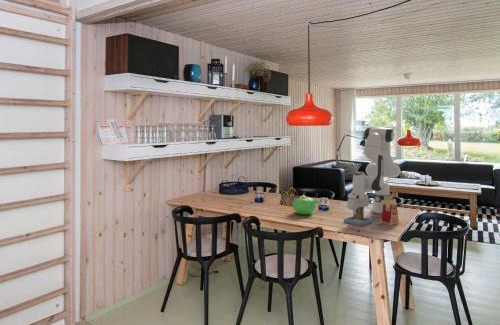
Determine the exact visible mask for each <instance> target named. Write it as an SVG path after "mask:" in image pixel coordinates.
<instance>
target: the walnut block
mask: <svg viewBox="0 0 500 325" xmlns="http://www.w3.org/2000/svg"><path fill="white" fill-rule="evenodd" d="M364 209H365V207H358V209H356V212H357V215H354V211H353V210H352V211H353V212H352V213H353V214H352V217H353V219H356V220H362V219H363V217H364V214H365V213H364Z"/></svg>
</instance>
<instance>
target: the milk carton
mask: <svg viewBox="0 0 500 325" xmlns="http://www.w3.org/2000/svg"><path fill="white" fill-rule="evenodd" d="M384 197H385V198H384V203H383V210H382V213H381V223H382V224H386V225H389V226H392V225H396V224H397V225H398V224H400V221H399V210H398V211H397V209H398V205H397V200H396V198H395V197H394V195H393V194H392V196H384Z"/></svg>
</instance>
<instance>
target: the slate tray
mask: <svg viewBox="0 0 500 325" xmlns="http://www.w3.org/2000/svg"><path fill="white" fill-rule="evenodd" d="M343 223H347V224H350V225H355V226H358V225H359V226H358V227H363V226H366V225H369V224H373V218H367V217H364V216H363V219H362V220H356V219H353V216H350V217H345V218H343Z"/></svg>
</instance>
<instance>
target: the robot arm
mask: <svg viewBox="0 0 500 325" xmlns="http://www.w3.org/2000/svg"><path fill="white" fill-rule="evenodd" d="M363 137H364V139H365V143H364V148H363V154H364V156H365V157H366V158H367V159H368V160H369V161H372V163H368V164H367V166H366V168H365V172H364V171H356V172H354V173H353V176H352V191H351V192H350V193H349V194H348V195H347V209H348V210H351V211H354V215H357V212H356V209H358V207H364V208H366V207H369V205H370V203H369V202H370V201H369V195H368V194H367V193H366V190H370V191H374V194H373V198H374V199H373V200H372V205H371V208H370V210H371V211H372V212H373V213H377V214H382V210H383V203H384V198H385V197H384V196H393V194H390V189H391V188H390V184H389V182H387V181H385V180H384V178H388V179H389V178H398V177H399V175H400V174H401V169H400V168H401V167H400V166H399V165H398V164H396V163H395V162H394V161H393V159H392V156H391V155H392V154H391V142H393V141H394V138H395V131H394V129H393V128H391V127H370V126H369V127H367V128H366V129H364V133H363ZM365 173H366V174H365ZM397 211H398V212H399V209H398V208H397Z"/></svg>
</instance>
